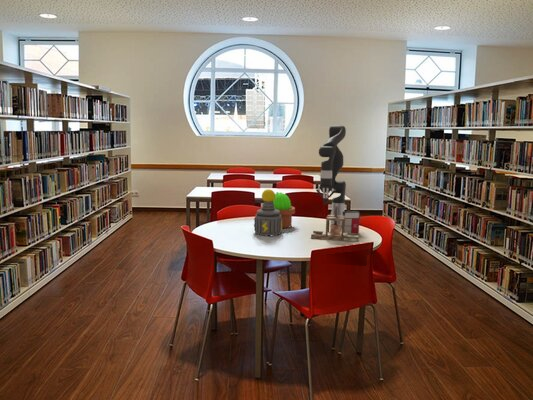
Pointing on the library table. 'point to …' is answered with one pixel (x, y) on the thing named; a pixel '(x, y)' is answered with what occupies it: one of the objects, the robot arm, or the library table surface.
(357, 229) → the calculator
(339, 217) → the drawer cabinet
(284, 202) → the potted cactus
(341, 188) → the robot arm
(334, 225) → the cube with grey rod
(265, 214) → the decorative lamp
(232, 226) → the library table surface
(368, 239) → the library table surface
